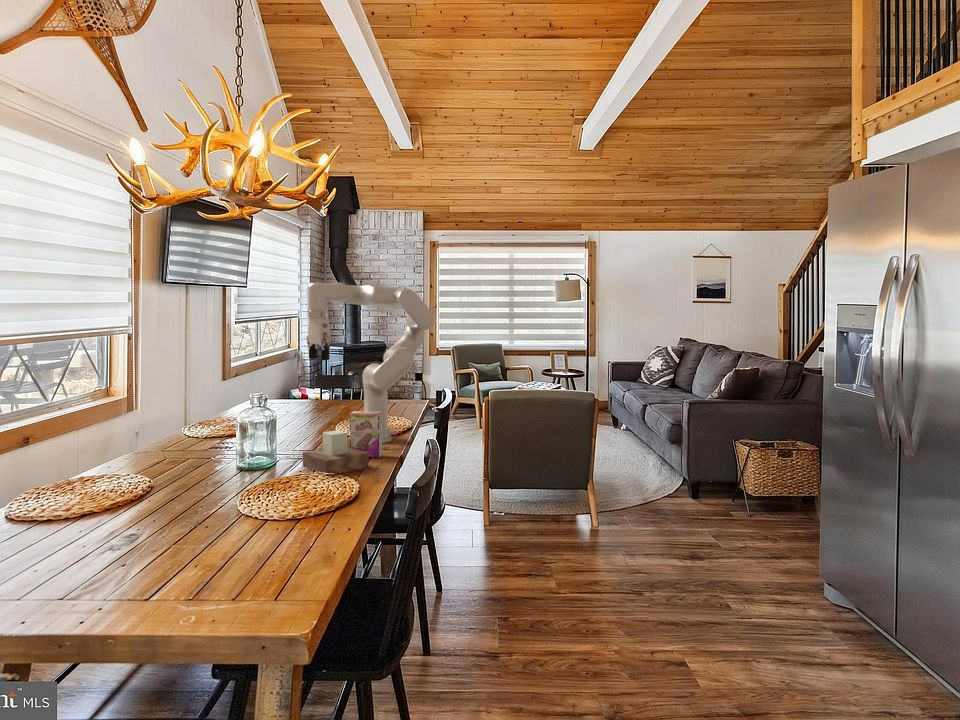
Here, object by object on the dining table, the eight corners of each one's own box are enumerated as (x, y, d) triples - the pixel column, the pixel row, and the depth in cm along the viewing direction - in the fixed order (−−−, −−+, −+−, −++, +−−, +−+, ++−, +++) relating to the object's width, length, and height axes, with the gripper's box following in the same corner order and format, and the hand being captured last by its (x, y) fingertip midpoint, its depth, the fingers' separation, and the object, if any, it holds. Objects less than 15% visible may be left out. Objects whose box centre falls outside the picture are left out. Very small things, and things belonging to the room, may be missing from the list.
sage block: (338, 449, 220) (338, 430, 219) (347, 452, 215) (347, 432, 215) (322, 452, 216) (322, 432, 215) (331, 455, 211) (331, 435, 211)
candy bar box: (349, 457, 230) (348, 413, 228) (353, 454, 235) (352, 410, 233) (379, 458, 229) (379, 413, 227) (383, 455, 234) (382, 411, 232)
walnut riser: (343, 459, 227) (343, 445, 227) (368, 467, 216) (368, 453, 215) (302, 466, 216) (302, 452, 216) (326, 476, 205) (326, 460, 204)
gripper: (338, 315, 239) (339, 360, 241) (315, 314, 252) (316, 357, 253) (320, 315, 234) (321, 361, 236) (298, 314, 247) (299, 358, 248)
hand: (318, 359), depth 244 cm, fingers open, 9 cm apart
